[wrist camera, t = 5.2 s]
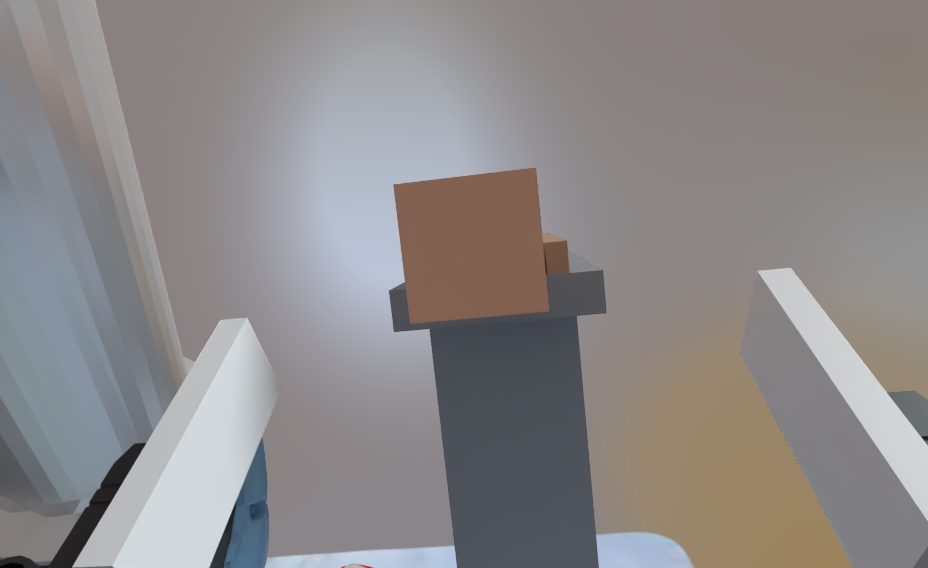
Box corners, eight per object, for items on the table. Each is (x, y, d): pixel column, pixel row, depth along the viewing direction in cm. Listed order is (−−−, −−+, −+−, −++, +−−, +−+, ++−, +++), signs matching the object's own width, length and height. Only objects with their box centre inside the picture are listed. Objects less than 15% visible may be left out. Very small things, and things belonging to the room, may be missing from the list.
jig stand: (668, 817, 28) (622, 234, 25) (434, 814, 29) (364, 261, 26) (612, 596, 44) (581, 229, 41) (464, 601, 45) (423, 246, 42)
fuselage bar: (549, 311, 15) (535, 167, 15) (410, 323, 16) (393, 184, 15) (529, 255, 41) (524, 201, 41) (476, 260, 42) (471, 207, 41)
